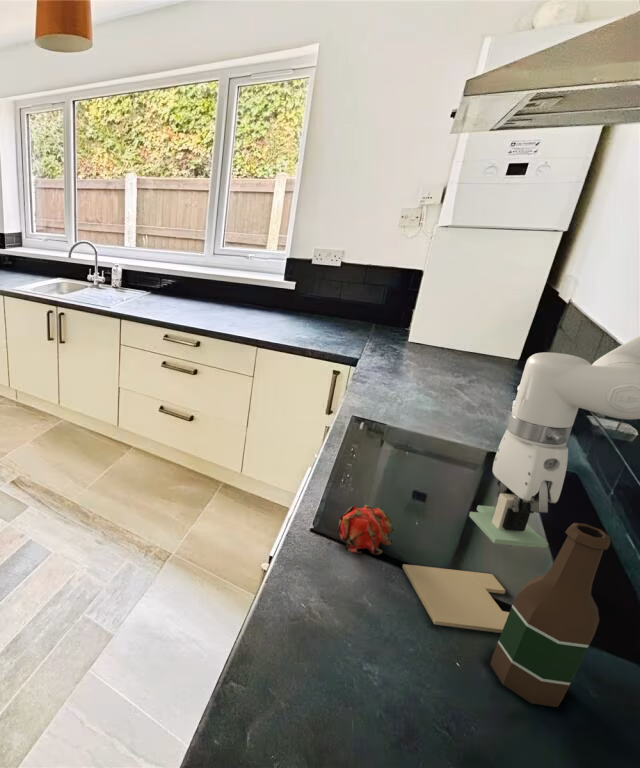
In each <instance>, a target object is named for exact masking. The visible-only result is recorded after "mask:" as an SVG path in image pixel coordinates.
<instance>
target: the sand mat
mask: <svg viewBox="0 0 640 768" xmlns="http://www.w3.org/2000/svg"><path fill="white" fill-rule="evenodd" d="M401 568H402V569H403V571H404V573H405V575H406V577H407V578H408V580H409V583H410V584H411V586H412V587H413V589H414V591H415V593H416V595H417V596H418V598H419V600H420V602H421V603H422V605H423V607H424V608H425V611H426V612H427V614H428V616H429V617H430V620H431V621H432V623H433V624H434V625H436V626H437V625H438V626H445V627H451V628H458V629H459V628H460V629H468V630H476V631H482V632H483V631H484V632H490V633H491V632H492V633H497V634H501V633H502V630H503V628H504V625H505V623H506V620H507V618H508V615H509V612H510V611H503V610H502V608H501V607H500V606H499V604H498V603H497V602H496V601H495V599H494V598H493V597H492V595H491V594H490V593H494V594H503V595H505V593H506V589H505V588H504V587H503V585H502V584H501V583H500V581H498V579H497V578H496V577H495V576H494V574H493V573H484V572H477V571H467V570H458V569H449V568H443V567H442V568H441V567H432V566H424V565H414V564H405V563H403V564H402V567H401Z"/></svg>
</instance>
